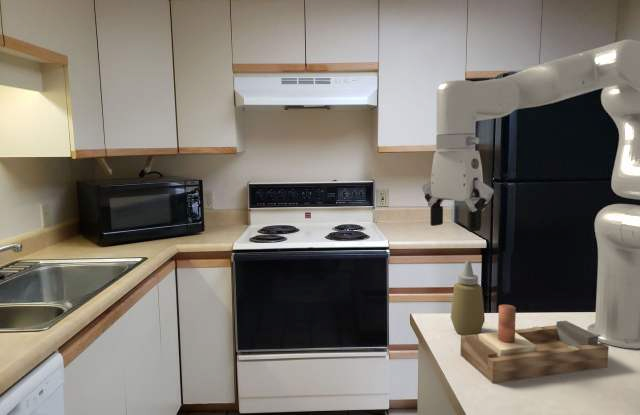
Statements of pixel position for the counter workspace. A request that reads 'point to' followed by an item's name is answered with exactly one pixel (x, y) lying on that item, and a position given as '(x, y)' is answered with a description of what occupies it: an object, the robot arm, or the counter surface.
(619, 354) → the counter surface
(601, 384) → the counter surface
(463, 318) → the squeeze bottle
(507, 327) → the carriage
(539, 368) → the base
